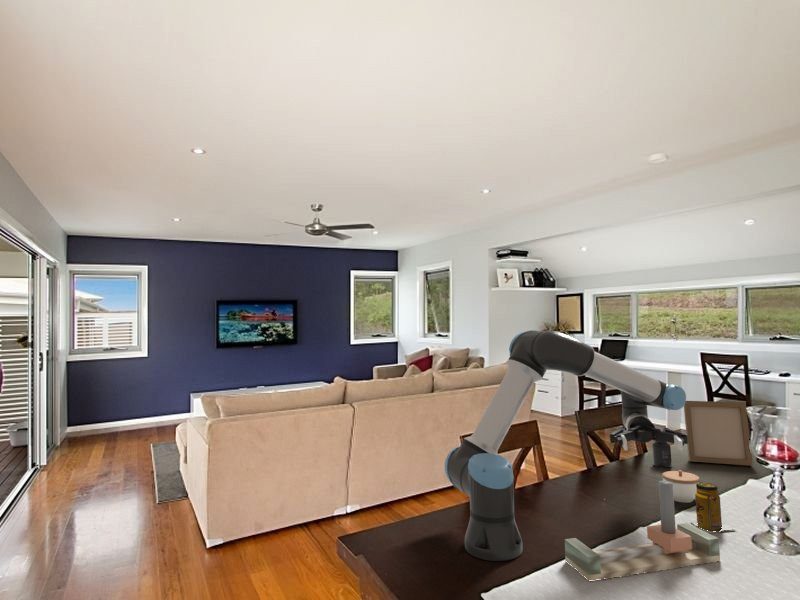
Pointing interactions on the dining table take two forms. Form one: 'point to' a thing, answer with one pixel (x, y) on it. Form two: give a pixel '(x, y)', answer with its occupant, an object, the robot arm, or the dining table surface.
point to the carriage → (668, 524)
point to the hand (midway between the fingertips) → (653, 445)
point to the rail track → (647, 563)
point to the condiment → (708, 507)
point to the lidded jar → (682, 485)
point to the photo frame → (717, 432)
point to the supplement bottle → (662, 454)
